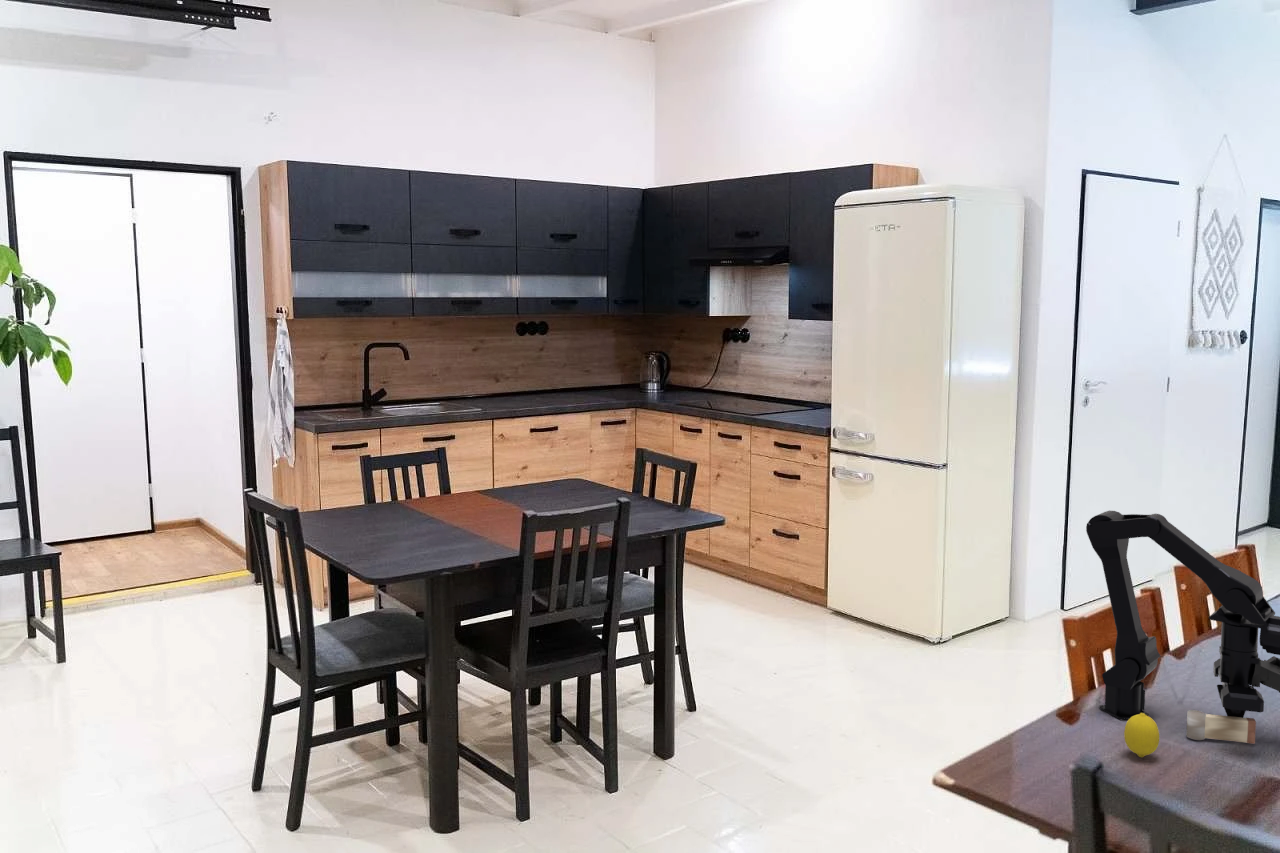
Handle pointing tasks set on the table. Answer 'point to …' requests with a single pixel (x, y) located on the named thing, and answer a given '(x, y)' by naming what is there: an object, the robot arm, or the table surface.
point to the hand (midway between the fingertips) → (1235, 729)
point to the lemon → (1141, 734)
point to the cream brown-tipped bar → (1220, 727)
